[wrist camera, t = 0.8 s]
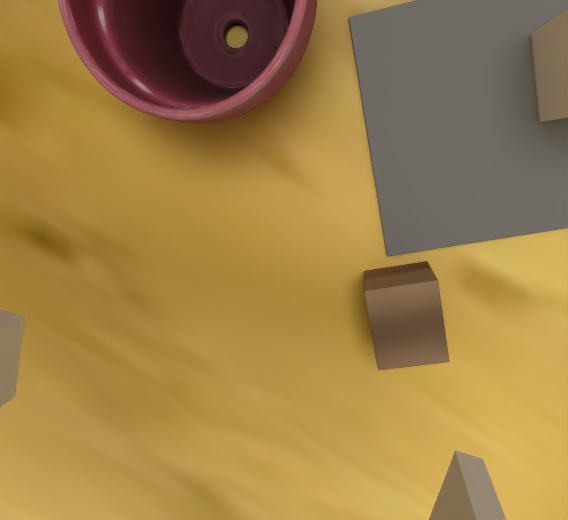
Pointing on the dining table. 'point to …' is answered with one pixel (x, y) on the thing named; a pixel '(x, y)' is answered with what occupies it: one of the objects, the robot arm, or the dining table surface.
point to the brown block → (405, 316)
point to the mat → (459, 122)
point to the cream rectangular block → (551, 68)
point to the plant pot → (189, 52)
